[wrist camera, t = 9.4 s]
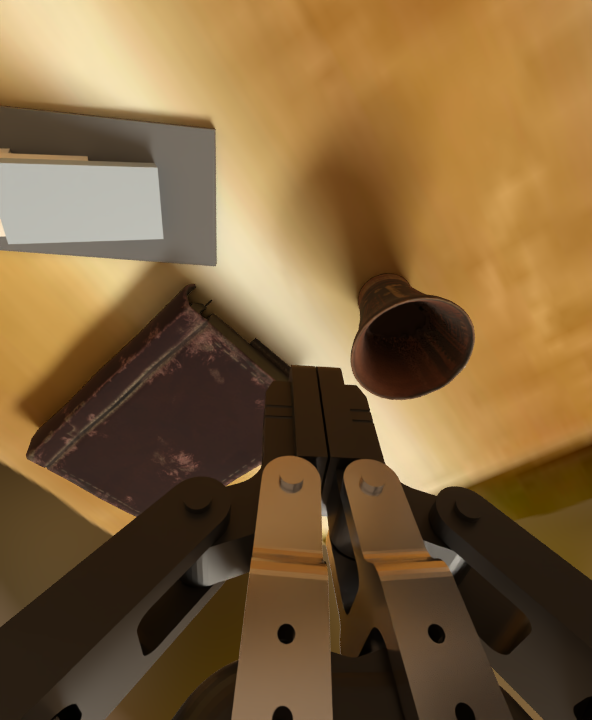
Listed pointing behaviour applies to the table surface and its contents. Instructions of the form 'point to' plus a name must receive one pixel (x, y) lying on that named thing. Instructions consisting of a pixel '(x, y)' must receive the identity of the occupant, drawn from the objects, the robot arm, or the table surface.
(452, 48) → the table surface
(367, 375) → the cup
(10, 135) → the mat
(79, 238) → the domino
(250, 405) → the diary
